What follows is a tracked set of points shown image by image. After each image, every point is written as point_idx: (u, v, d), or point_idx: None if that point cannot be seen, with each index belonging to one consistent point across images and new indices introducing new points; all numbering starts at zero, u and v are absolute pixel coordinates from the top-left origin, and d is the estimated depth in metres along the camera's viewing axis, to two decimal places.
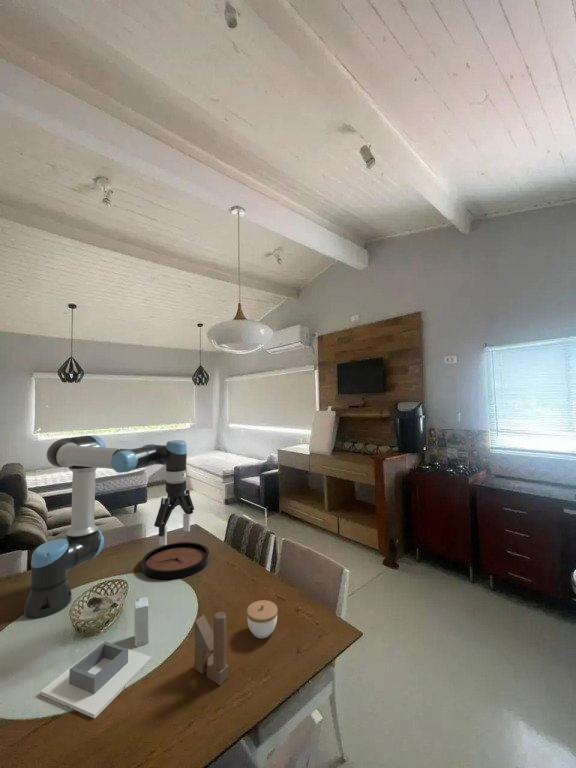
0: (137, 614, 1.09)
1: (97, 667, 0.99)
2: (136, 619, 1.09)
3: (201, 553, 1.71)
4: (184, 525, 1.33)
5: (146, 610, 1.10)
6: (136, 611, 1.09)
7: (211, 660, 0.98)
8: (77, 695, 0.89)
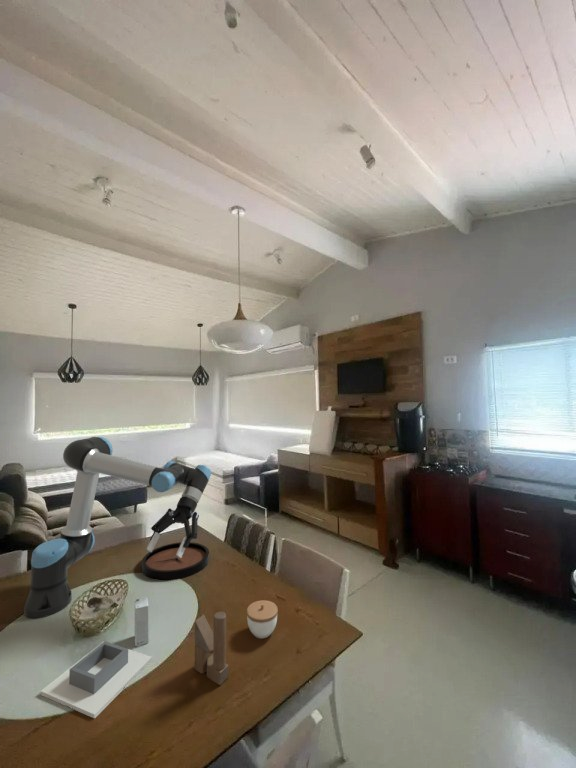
0: (137, 614, 1.09)
1: (97, 667, 0.99)
2: (136, 619, 1.09)
3: (201, 553, 1.71)
4: (151, 544, 1.26)
5: (146, 610, 1.10)
6: (136, 611, 1.09)
7: (211, 660, 0.98)
8: (77, 695, 0.89)
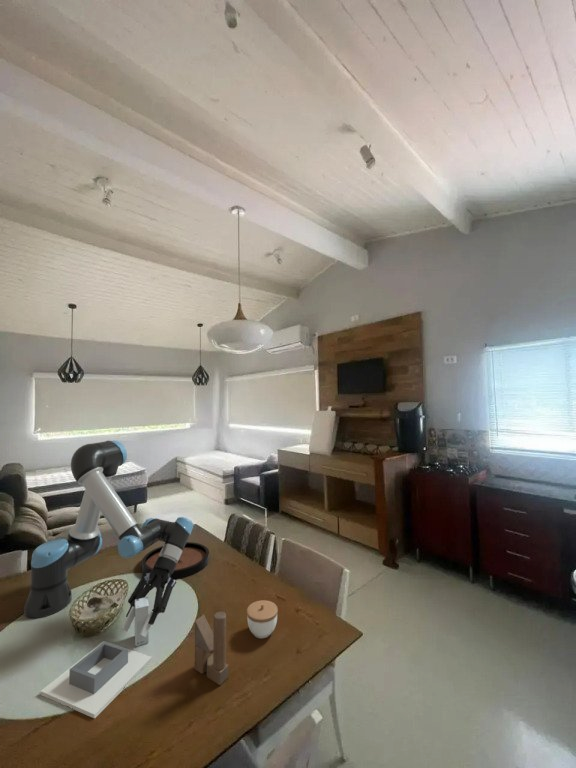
0: (137, 614, 1.09)
1: (97, 667, 0.99)
2: (136, 619, 1.09)
3: (201, 553, 1.71)
4: (127, 622, 1.11)
5: (146, 610, 1.10)
6: (136, 611, 1.09)
7: (211, 660, 0.98)
8: (77, 695, 0.89)
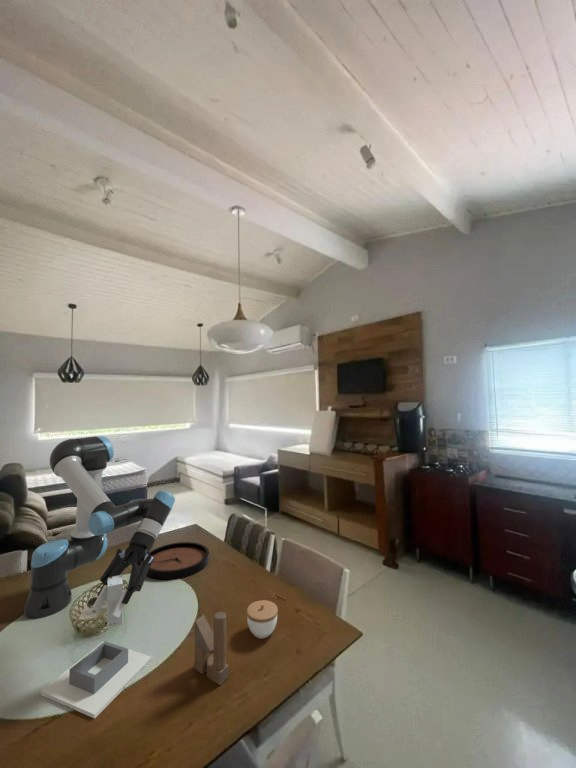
0: (109, 592, 0.98)
1: (97, 667, 0.99)
2: (108, 598, 0.98)
3: (201, 553, 1.71)
4: (98, 602, 1.00)
5: (120, 588, 0.99)
6: (108, 589, 0.98)
7: (211, 660, 0.98)
8: (77, 695, 0.89)
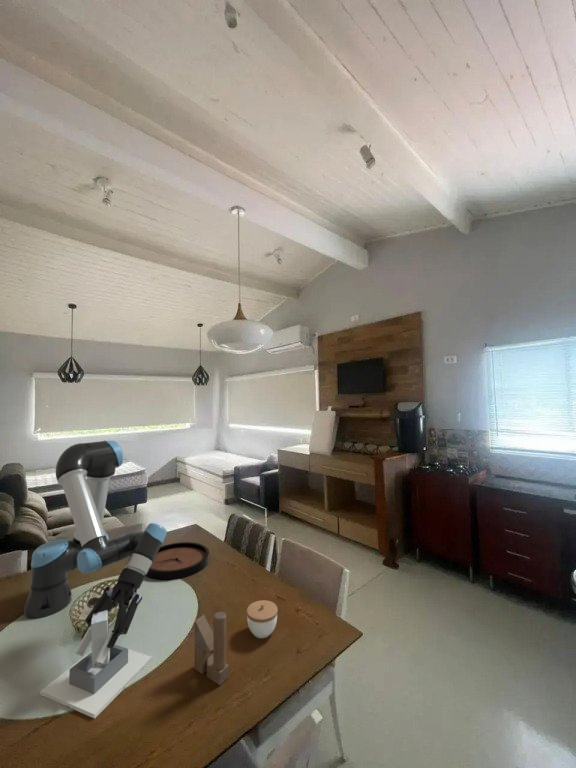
0: (93, 630, 0.94)
1: (97, 667, 0.99)
2: (93, 636, 0.94)
3: (201, 553, 1.71)
4: (82, 645, 0.96)
5: (104, 625, 0.96)
6: (92, 627, 0.94)
7: (211, 660, 0.98)
8: (77, 695, 0.89)
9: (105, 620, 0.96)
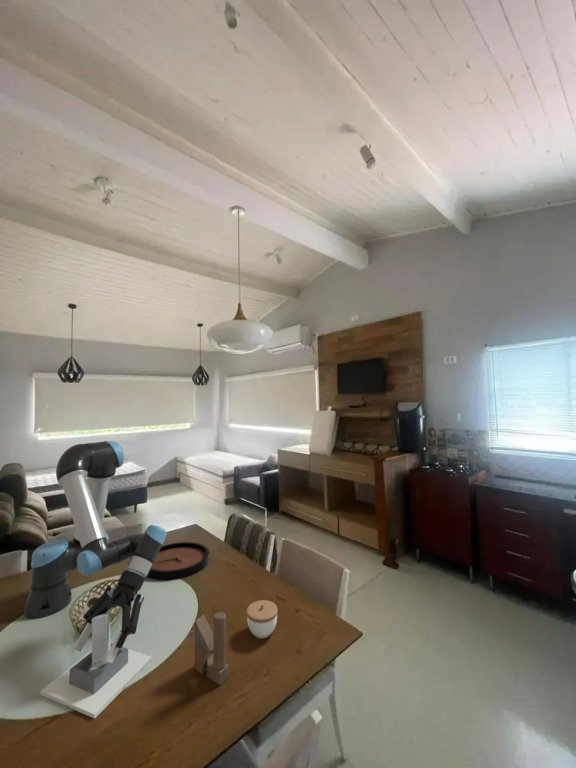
0: (94, 625, 0.98)
1: (97, 667, 0.99)
2: (93, 632, 0.97)
3: (201, 553, 1.71)
4: (80, 641, 0.98)
5: (105, 620, 0.99)
6: (93, 622, 0.98)
7: (211, 660, 0.98)
8: (77, 695, 0.89)
9: (105, 615, 0.99)
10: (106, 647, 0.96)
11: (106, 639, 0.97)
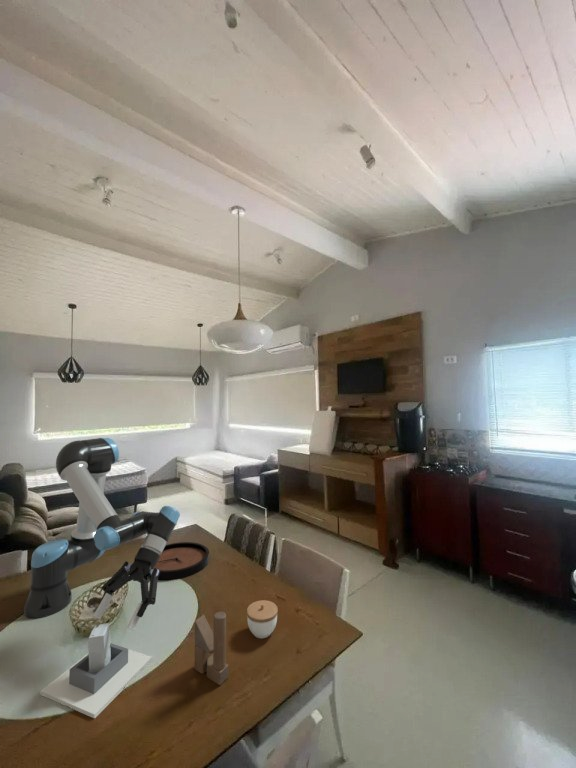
0: (91, 644, 0.94)
1: None
2: (90, 650, 0.94)
3: (201, 553, 1.71)
4: (100, 610, 1.04)
5: (101, 641, 0.95)
6: (89, 641, 0.94)
7: (211, 660, 0.98)
8: (77, 695, 0.89)
9: (102, 635, 0.95)
10: (103, 665, 0.94)
11: (103, 658, 0.95)
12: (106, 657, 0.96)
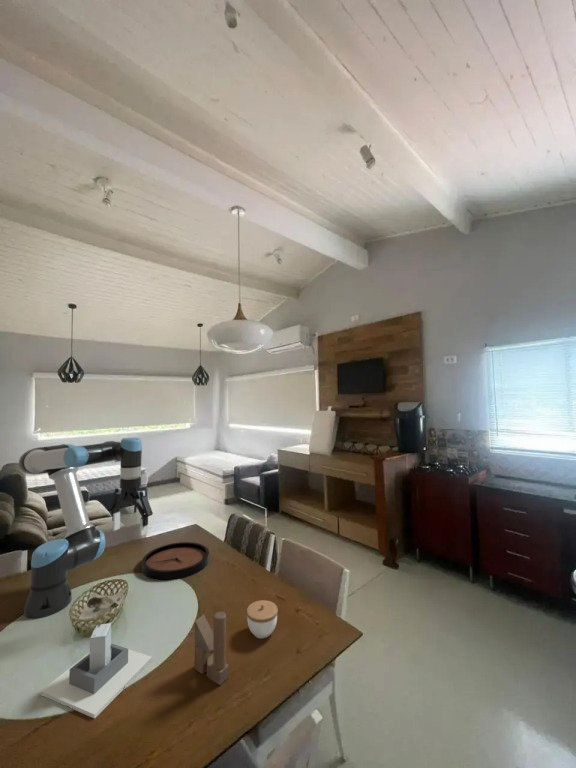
0: (92, 644, 0.94)
1: None
2: (91, 650, 0.94)
3: (201, 553, 1.71)
4: (115, 524, 1.32)
5: (103, 641, 0.95)
6: (91, 641, 0.94)
7: (211, 660, 0.98)
8: (77, 695, 0.89)
9: (104, 636, 0.95)
10: (103, 665, 0.94)
11: (104, 658, 0.95)
12: (107, 658, 0.96)
